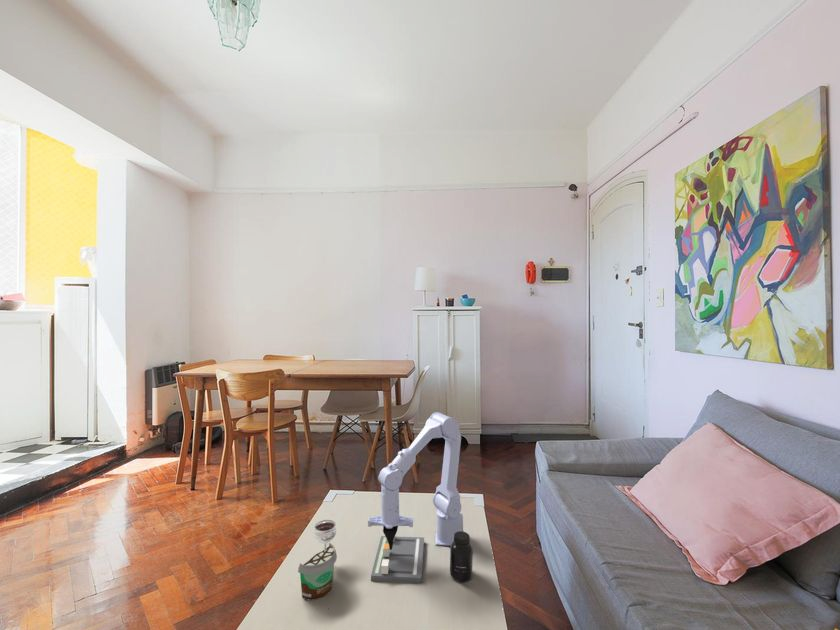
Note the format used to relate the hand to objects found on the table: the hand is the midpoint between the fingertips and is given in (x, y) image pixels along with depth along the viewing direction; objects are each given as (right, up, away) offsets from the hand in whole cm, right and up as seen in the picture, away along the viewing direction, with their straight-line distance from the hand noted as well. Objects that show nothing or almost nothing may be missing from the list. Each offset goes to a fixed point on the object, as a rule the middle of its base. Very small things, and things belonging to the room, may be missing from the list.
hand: (391, 547), depth 121 cm
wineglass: (-21, -4, -2) cm, 21 cm away
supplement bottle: (+22, -4, -7) cm, 23 cm away
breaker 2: (0, -2, +8) cm, 8 cm away
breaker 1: (-1, -2, -8) cm, 8 cm away
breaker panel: (+3, -4, 0) cm, 5 cm away
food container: (-19, -4, -14) cm, 24 cm away
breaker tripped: (-1, -2, 0) cm, 2 cm away
